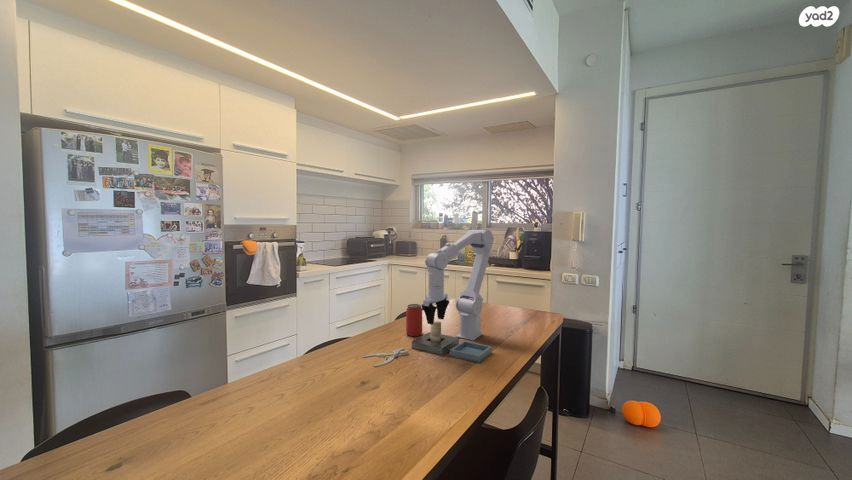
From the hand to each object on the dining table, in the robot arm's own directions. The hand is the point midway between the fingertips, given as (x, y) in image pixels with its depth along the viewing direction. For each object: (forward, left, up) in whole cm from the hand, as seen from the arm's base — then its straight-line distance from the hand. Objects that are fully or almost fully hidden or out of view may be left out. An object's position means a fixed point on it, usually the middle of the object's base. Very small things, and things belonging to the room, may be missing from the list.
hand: (435, 321), depth 129 cm
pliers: (+18, -8, -10) cm, 22 cm away
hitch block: (0, 0, -9) cm, 9 cm away
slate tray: (0, +15, -9) cm, 17 cm away
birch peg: (0, 0, -9) cm, 9 cm away
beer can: (-7, -14, -10) cm, 19 cm away
